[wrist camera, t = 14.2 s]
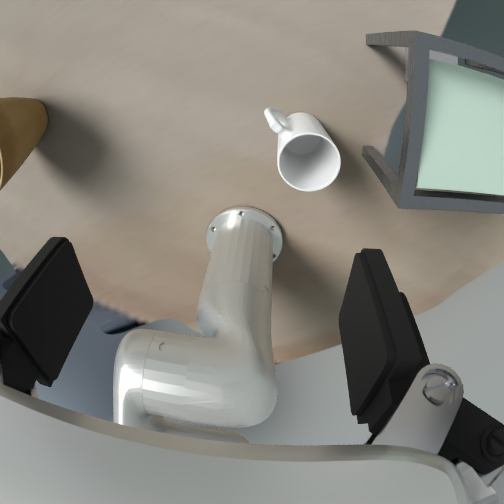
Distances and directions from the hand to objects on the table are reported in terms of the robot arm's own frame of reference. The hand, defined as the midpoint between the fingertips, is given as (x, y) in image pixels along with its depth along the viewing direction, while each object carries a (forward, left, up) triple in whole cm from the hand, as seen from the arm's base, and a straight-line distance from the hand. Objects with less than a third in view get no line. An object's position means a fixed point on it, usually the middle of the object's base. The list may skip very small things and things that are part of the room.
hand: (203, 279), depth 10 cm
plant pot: (+3, +38, -36) cm, 53 cm away
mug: (-4, -5, -36) cm, 37 cm away
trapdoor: (0, -24, -23) cm, 33 cm away
